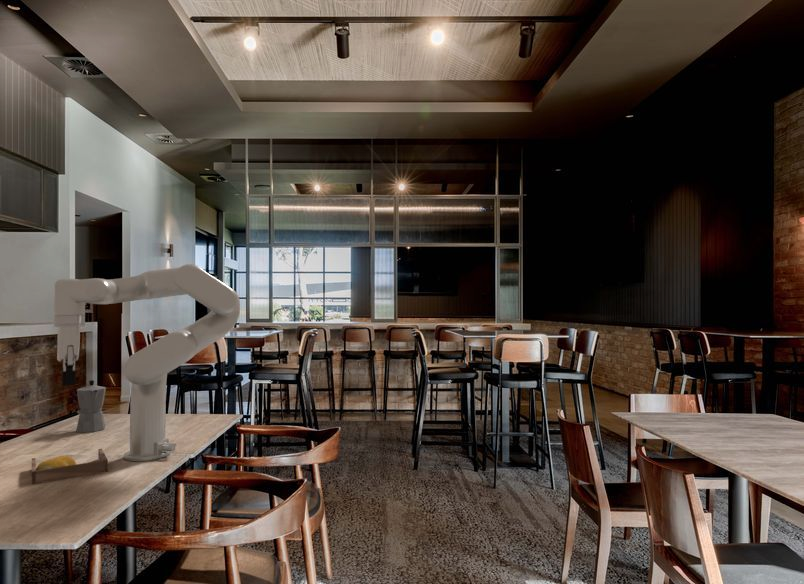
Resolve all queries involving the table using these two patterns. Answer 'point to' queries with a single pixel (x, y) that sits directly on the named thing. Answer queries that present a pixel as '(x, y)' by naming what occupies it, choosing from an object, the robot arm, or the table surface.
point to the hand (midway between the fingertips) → (68, 385)
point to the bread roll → (56, 463)
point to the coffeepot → (91, 408)
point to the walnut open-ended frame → (70, 470)
